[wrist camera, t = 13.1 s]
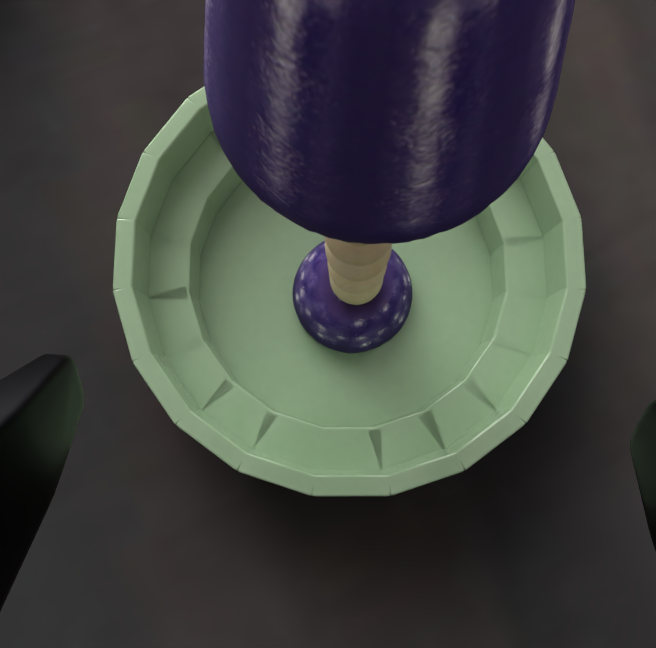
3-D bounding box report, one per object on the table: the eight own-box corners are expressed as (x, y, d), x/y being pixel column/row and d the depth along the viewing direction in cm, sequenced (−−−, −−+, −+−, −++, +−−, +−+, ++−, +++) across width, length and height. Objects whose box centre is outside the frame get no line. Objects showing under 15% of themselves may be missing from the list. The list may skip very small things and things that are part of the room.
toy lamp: (258, 314, 20) (-23, -82, 4) (315, 201, 21) (279, -548, 5) (380, 373, 20) (627, 211, 4) (435, 257, 21) (855, -329, 4)
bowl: (597, 406, 21) (658, 405, 17) (214, 536, 20) (188, 565, 16) (460, 56, 23) (487, -15, 19) (107, 163, 22) (62, 112, 18)
